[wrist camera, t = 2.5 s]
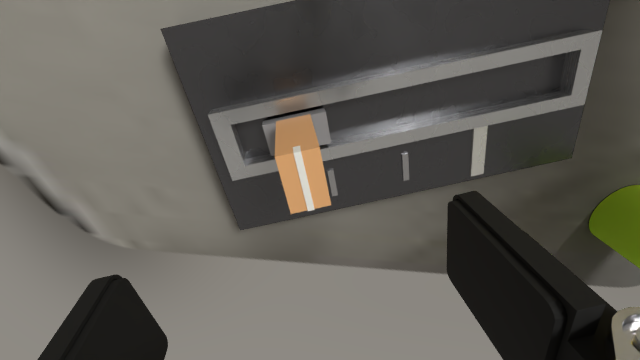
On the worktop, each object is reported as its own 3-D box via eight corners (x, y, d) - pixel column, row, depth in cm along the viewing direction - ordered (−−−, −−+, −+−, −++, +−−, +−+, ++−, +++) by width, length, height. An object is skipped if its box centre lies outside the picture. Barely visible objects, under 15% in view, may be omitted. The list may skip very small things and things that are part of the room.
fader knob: (260, 113, 18) (251, 162, 12) (322, 99, 18) (342, 142, 12) (273, 157, 19) (270, 219, 14) (330, 144, 19) (351, 201, 14)
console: (175, 26, 18) (153, 30, 15) (585, -61, 18) (647, -75, 15) (243, 210, 24) (238, 239, 21) (545, 144, 24) (583, 164, 21)
